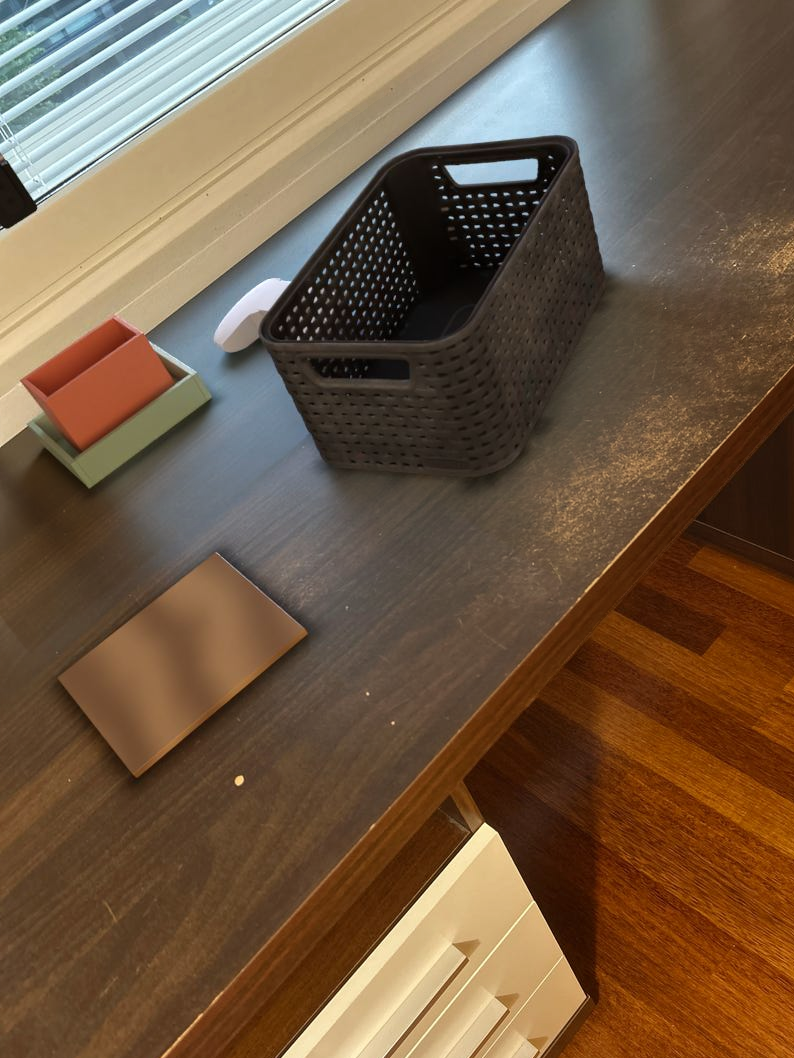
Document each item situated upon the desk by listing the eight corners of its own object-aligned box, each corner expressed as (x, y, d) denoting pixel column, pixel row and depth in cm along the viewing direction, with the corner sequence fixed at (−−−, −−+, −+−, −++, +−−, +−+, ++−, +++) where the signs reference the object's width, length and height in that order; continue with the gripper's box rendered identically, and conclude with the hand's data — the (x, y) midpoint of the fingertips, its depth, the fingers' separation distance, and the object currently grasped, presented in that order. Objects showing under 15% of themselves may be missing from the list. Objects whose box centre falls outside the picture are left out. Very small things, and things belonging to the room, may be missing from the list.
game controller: (198, 337, 102) (247, 261, 105) (224, 366, 106) (270, 291, 108) (303, 354, 95) (353, 271, 97) (327, 384, 98) (374, 303, 101)
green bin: (92, 492, 96) (70, 464, 94) (47, 450, 103) (26, 423, 101) (215, 401, 100) (197, 372, 97) (163, 367, 107) (146, 338, 104)
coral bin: (94, 467, 98) (45, 402, 92) (68, 443, 102) (19, 380, 96) (185, 400, 101) (143, 332, 95) (156, 379, 105) (114, 314, 99)
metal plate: (136, 778, 73) (132, 774, 72) (61, 681, 81) (56, 677, 81) (308, 633, 77) (305, 628, 76) (219, 556, 85) (215, 551, 85)
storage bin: (436, 272, 103) (391, 144, 93) (618, 268, 95) (589, 126, 85) (309, 471, 89) (240, 345, 79) (509, 486, 80) (460, 347, 70)
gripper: (-225, -6, 76) (-67, 206, 88) (-176, 19, 65) (-4, 257, 78) (-136, -55, 77) (6, 160, 90) (-74, -38, 67) (78, 204, 79)
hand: (1, 205), depth 84 cm, fingers open, 9 cm apart
